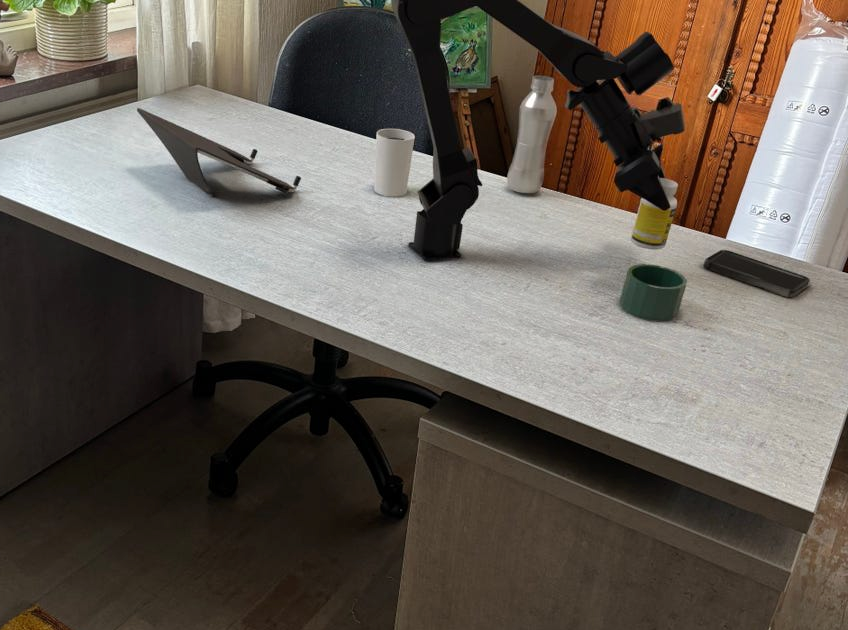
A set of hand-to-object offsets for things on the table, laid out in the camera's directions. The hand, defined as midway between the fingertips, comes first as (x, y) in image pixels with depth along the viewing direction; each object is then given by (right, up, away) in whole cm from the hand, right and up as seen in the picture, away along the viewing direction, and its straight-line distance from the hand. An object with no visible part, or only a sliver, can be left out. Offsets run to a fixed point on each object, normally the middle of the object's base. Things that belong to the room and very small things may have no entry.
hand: (668, 203), depth 147 cm
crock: (-4, -17, -5) cm, 18 cm away
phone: (+16, -10, +8) cm, 20 cm away
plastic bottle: (-17, +11, +33) cm, 39 cm away
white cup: (-42, +9, +27) cm, 50 cm away
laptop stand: (-71, +10, +23) cm, 75 cm away
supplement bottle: (-2, -5, +4) cm, 7 cm away
